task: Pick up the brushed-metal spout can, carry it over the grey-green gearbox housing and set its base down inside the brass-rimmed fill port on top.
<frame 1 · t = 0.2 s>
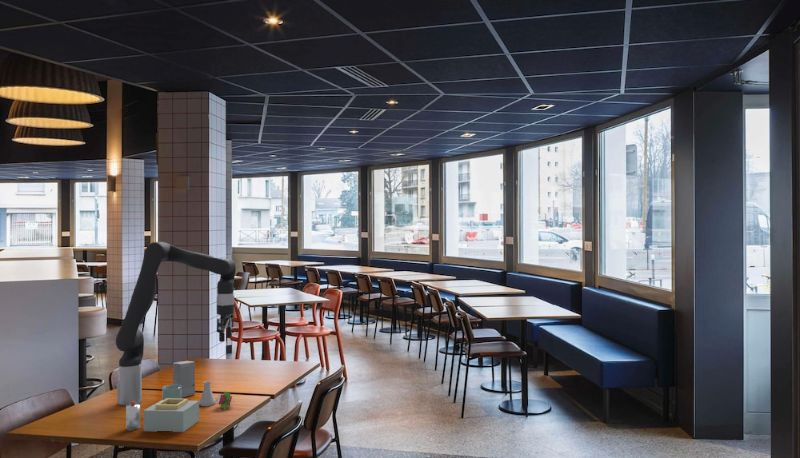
hand: (225, 339, 259), 29 cm above the table, tool pointing down, fingers open, 8 cm apart
spout can: (133, 428, 228), on the table
gearbox: (172, 425, 231), on the table
skincare box: (183, 395, 274), on the table
geometric puzzle: (225, 407, 254), on the table
flask: (207, 404, 259), on the table
cup: (171, 410, 251), on the table
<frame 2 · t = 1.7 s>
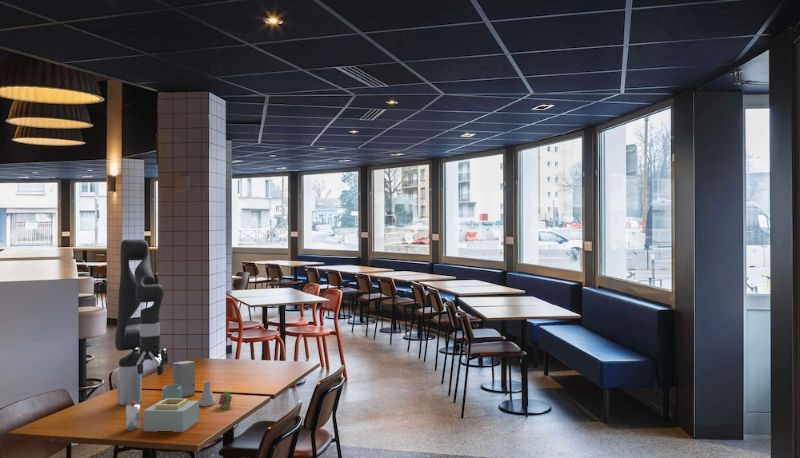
hand: (150, 374, 233), 20 cm above the table, tool pointing down, fingers open, 8 cm apart
nothing on the table moved.
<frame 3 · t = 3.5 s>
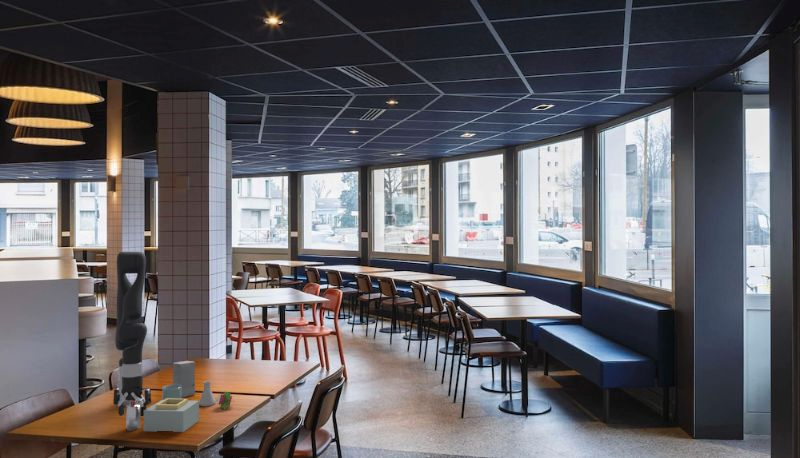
hand: (132, 415, 228), 5 cm above the table, tool pointing down, fingers open, 8 cm apart
nothing on the table moved.
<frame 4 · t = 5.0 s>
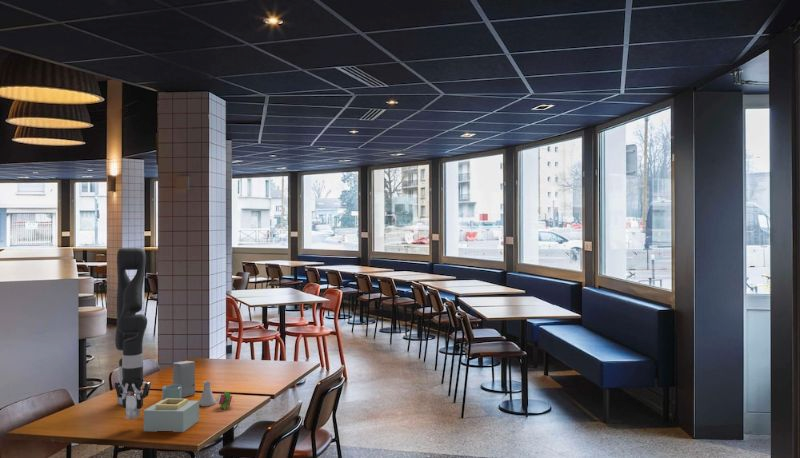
hand: (132, 408, 228), 8 cm above the table, tool pointing down, fingers closed on spout can, 5 cm apart
spout can: (132, 416, 228), point 4 cm above the table, touching gripper
everything else where it was.
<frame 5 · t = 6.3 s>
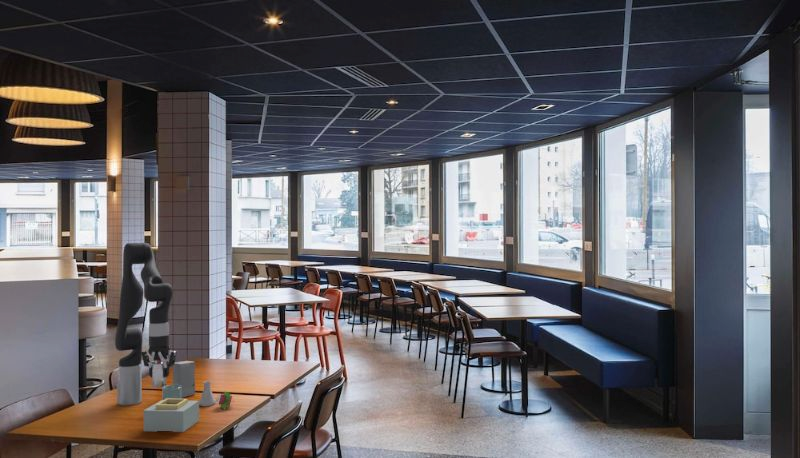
hand: (159, 376, 229), 20 cm above the table, tool pointing down, fingers closed on spout can, 5 cm apart
spout can: (159, 385, 229), point 16 cm above the table, touching gripper
everything else where it was.
when the fingers open (10 cm above the table, at t = 8.8 s): spout can stays where it is, resting on gearbox.
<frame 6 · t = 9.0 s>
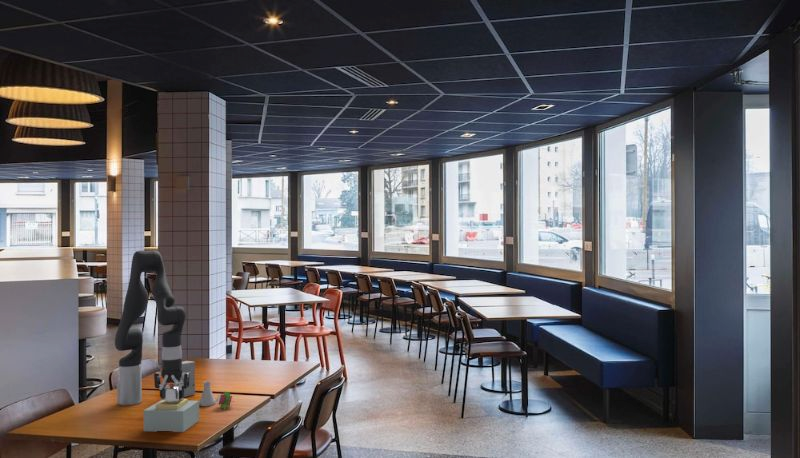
hand: (172, 398, 231), 11 cm above the table, tool pointing down, fingers open, 6 cm apart
spout can: (172, 410, 231), point 6 cm above the table, touching gearbox
everything else where it was.
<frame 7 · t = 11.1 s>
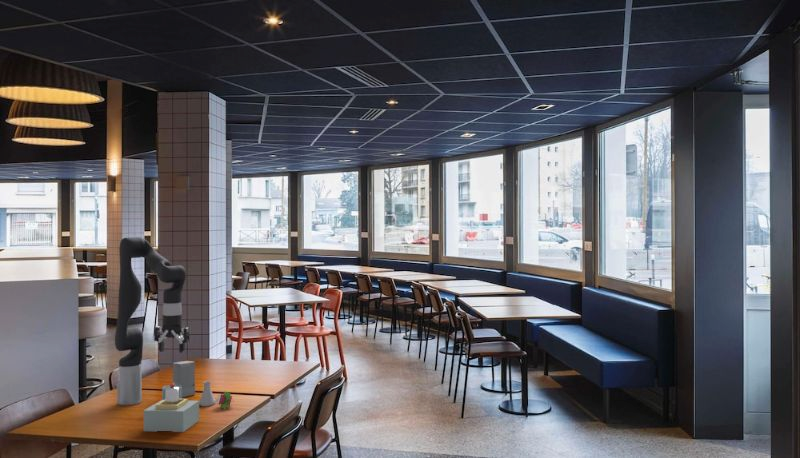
hand: (171, 351, 242), 27 cm above the table, tool pointing down, fingers open, 8 cm apart
nothing on the table moved.
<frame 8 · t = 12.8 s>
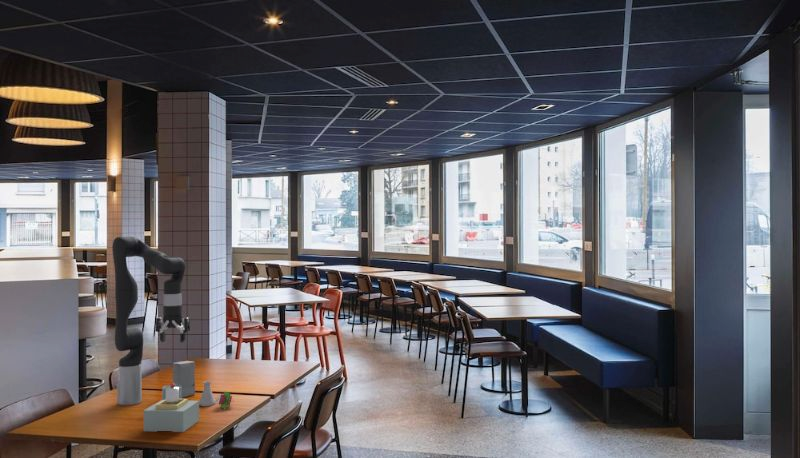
hand: (172, 341, 248), 30 cm above the table, tool pointing down, fingers open, 8 cm apart
nothing on the table moved.
at the end: spout can 0.0 cm off-centre on the gearbox, point 6.2 cm above the gearbox's base; spout can tilted 1°; the gripper is holding nothing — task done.
